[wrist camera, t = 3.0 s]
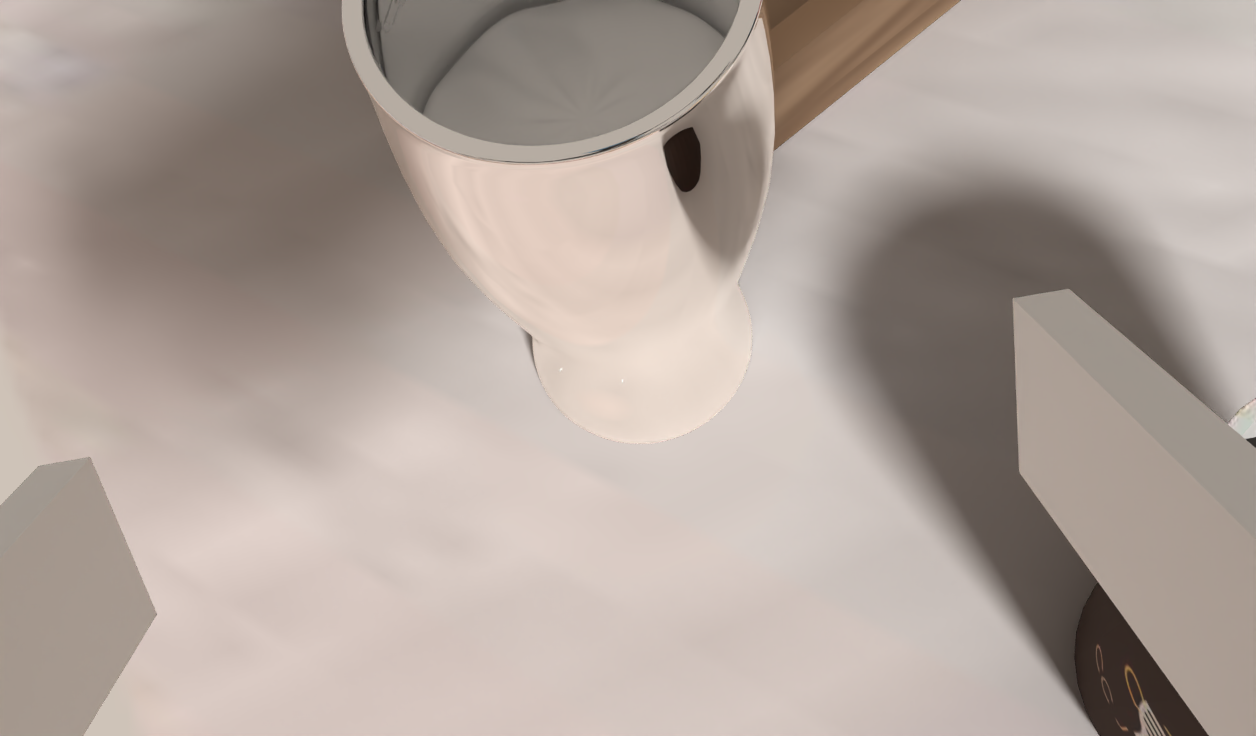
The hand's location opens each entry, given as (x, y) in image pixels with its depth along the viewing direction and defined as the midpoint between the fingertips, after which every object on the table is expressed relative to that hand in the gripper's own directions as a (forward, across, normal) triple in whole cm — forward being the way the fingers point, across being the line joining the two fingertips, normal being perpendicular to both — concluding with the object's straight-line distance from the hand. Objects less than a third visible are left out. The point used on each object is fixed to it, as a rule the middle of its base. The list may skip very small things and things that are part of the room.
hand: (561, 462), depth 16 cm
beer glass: (+15, +1, -4) cm, 15 cm away
